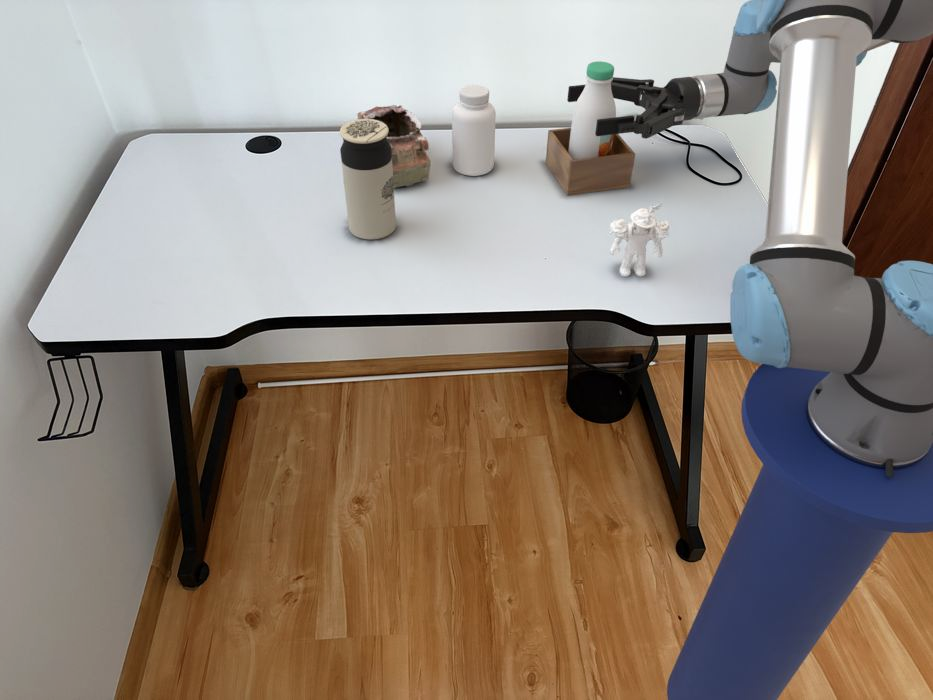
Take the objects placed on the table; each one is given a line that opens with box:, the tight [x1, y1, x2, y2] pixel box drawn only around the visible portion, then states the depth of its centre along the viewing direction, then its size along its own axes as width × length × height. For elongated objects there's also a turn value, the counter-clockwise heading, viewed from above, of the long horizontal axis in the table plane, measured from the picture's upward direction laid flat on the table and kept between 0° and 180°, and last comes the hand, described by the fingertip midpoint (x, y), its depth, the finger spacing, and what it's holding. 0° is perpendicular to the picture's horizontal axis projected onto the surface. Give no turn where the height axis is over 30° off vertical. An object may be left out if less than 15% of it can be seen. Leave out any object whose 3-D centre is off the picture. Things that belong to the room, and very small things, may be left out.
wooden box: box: [545, 127, 636, 196], centre depth 140 cm, size 12×12×7 cm
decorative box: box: [356, 104, 432, 189], centre depth 141 cm, size 13×20×10 cm, turn 16°
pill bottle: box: [451, 84, 497, 177], centre depth 139 cm, size 8×8×15 cm
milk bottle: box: [568, 60, 617, 160], centre depth 135 cm, size 8×8×20 cm
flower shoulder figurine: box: [609, 202, 670, 277], centre depth 117 cm, size 9×4×12 cm, turn 89°
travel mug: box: [339, 118, 397, 240], centre depth 123 cm, size 8×8×18 cm
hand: (582, 110), depth 133 cm, fingers open, 13 cm apart
